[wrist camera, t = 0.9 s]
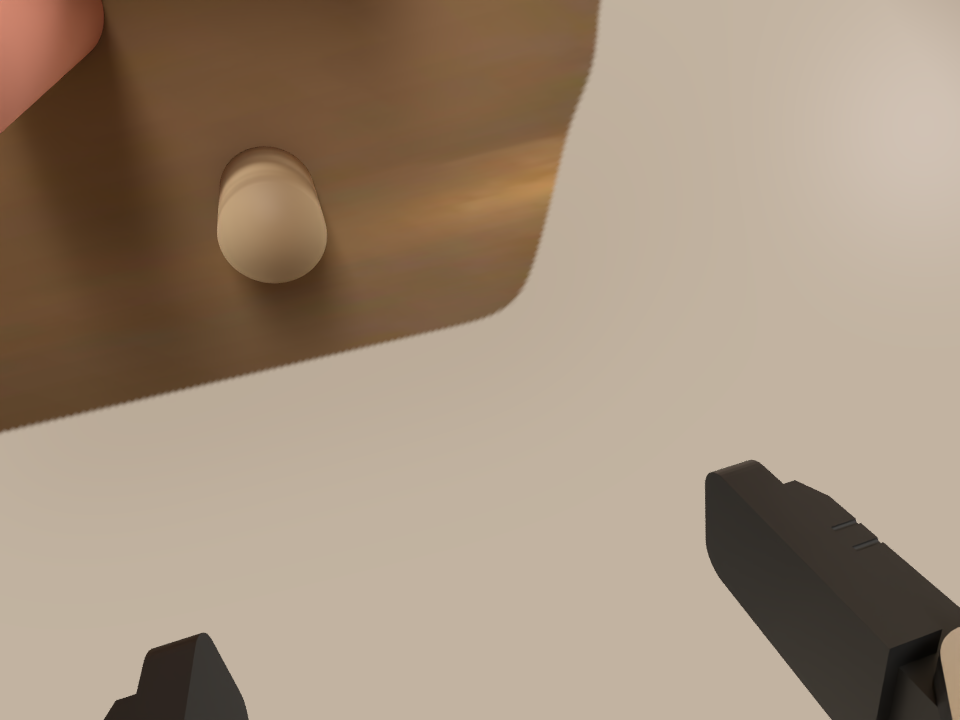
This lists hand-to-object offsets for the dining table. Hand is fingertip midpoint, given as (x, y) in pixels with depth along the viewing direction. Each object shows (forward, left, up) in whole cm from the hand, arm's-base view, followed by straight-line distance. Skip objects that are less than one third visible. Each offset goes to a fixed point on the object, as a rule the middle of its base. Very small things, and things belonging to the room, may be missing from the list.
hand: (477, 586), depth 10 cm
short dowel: (-2, -2, -24) cm, 24 cm away
